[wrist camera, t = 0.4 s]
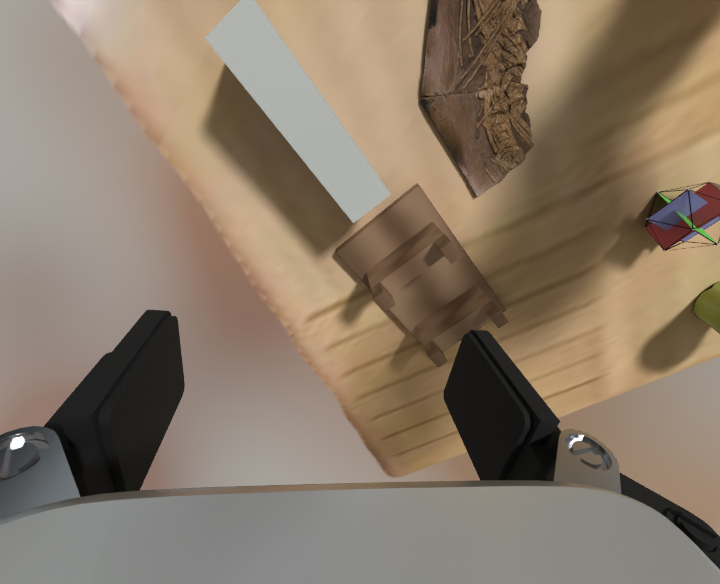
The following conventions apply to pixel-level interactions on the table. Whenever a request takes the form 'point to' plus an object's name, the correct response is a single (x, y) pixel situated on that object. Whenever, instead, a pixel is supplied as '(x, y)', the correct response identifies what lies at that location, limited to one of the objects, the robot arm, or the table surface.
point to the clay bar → (296, 107)
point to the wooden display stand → (422, 274)
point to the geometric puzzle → (685, 216)
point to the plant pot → (709, 307)
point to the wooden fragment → (480, 83)
